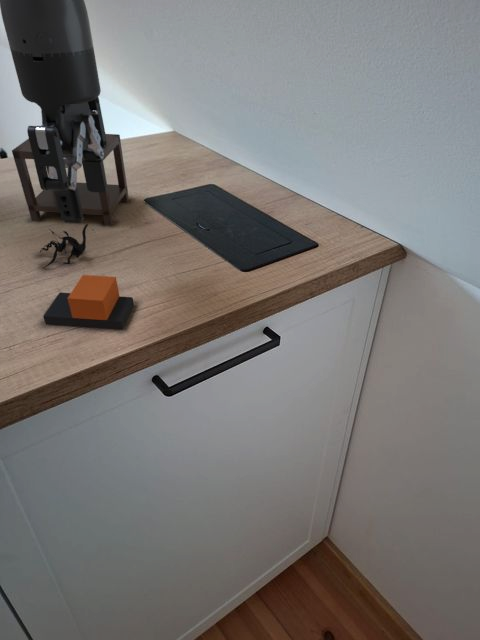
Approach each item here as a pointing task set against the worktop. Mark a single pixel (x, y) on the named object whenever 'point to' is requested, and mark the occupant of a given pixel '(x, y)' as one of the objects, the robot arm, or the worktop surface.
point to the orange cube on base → (91, 305)
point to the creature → (76, 249)
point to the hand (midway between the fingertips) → (86, 205)
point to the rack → (89, 200)
